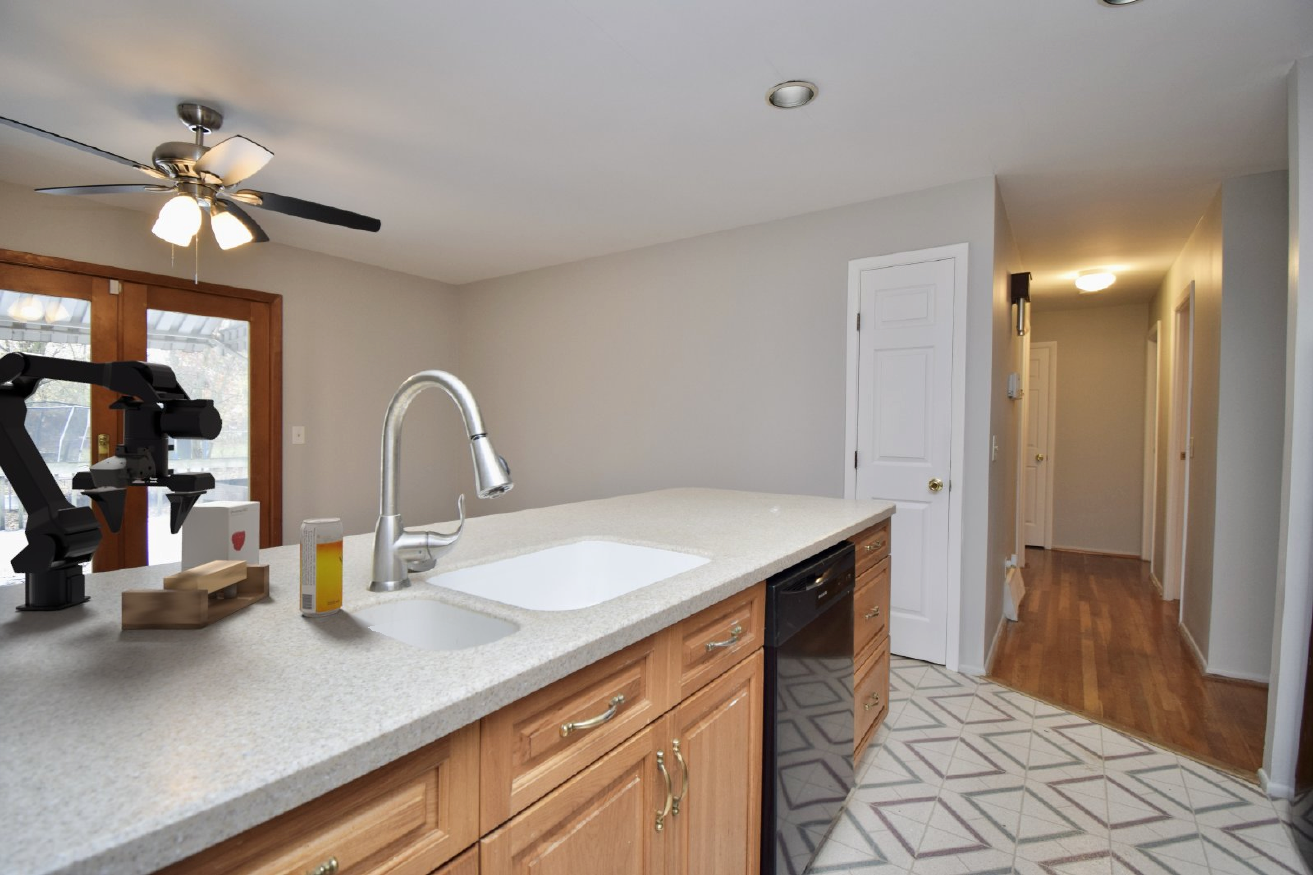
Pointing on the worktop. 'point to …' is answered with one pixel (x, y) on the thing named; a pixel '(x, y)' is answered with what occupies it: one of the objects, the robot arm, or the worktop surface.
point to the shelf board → (208, 576)
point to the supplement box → (221, 533)
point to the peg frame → (192, 603)
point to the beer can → (321, 566)
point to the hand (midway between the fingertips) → (145, 533)
